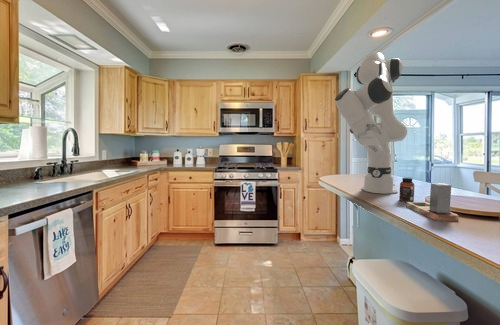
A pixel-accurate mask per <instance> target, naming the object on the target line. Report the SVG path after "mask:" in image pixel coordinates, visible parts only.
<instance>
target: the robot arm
mask: <svg viewBox="0 0 500 325" xmlns="http://www.w3.org/2000/svg"><path fill="white" fill-rule="evenodd" d="M403 67H404V66H403V63H402V60H401V59H400V58H399V57H398V58H397V57H393V58H390V59H389V58H388V59H385V56H384V55H383V54H382V53H381V52H377V51H376V52H372V53H370V54H368V55H367V56H365V57H364V59H363V61H362V62H361V64H360V65H359V67H357V68H356V73H355V77H356V81H357V84H359V85H363V86H362V87H360V88H359V89H357V90H352V89H351V88H345V89H343V90H342V91H341V92H339V94H337V95H336V97H335V98H334V104H335V106H336V107H337V109H338V111H339V113H340V114H341V116H342V117H343V118H344V120H346V122H347V125H348V126H349V130H348V131H349V132H350V134H352V135H353V136H354V138H355V139H356V140H357V142H358V143H359V144H360V145H362V146H364V148H366V151H367V154H368V155H367V158H368V165H367V173H366V174H365V175H364V179H363V180H364V182H363V183H364V184H363V186H362V187H361V188H360V189H361V190H362V191H365V192H367V193H373V194H381V195H382V194H398V187H397V186H396V185H395V184H394V177H393V176H392V167H391V158H392V157H391V155H392V154H391V152H390V150H389V147H388V144H389V143H396V142H402V141H404V139H405V138H406V137H407V135H408V129H407V126H406V124H404V123H403V122H402V121H401V120H399V119H398V118H397V117H396V115H395V112H394V109H393V85H392V84H394V83H395V81H396V80H398V79H399V78H400V77H401V75H402V73H403V69H404V68H403ZM368 111H369V112H370V113H369V112H368ZM372 116H374V117H375V118H376V117H377V118H379V119H380V120H381V122H376V121H375V120H374V118H373V117H372Z"/></svg>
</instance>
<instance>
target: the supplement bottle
mask: <svg viewBox="0 0 500 325" xmlns="http://www.w3.org/2000/svg"><path fill="white" fill-rule="evenodd" d="M401 180H402V181H401V182H400V183H399V196H398V197H399V202H403V203H407V202H415V200H414V199H415V183H414V182H413V178H412V177H402V179H401Z"/></svg>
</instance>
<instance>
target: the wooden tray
mask: <svg viewBox="0 0 500 325" xmlns="http://www.w3.org/2000/svg"><path fill="white" fill-rule="evenodd" d="M406 208H409V209H411V210H413V211H415V212H416V213H419V214H421V215H423V216H425V217H426V218H429V219H432V220H433V221H440V222H441V221H443V222H444V221H446V222H447V221H448V222H449V221H452V222H455V221H456V222H457V221H459V217H460V216H459V215H458V214H457V213H454V212H452V211H450V215H436V214H434V213H432V212H430V211H429V210H430V202H427V201H413V202H406Z"/></svg>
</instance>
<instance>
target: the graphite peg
mask: <svg viewBox="0 0 500 325" xmlns="http://www.w3.org/2000/svg"><path fill="white" fill-rule="evenodd" d="M429 192H430V194H429V204H430V210H429V211H430V212H432V213H434V214H436V215H450V212H451V199H452V198H451V195H452V184H448V183H444V182H431V183H430V191H429Z"/></svg>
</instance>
